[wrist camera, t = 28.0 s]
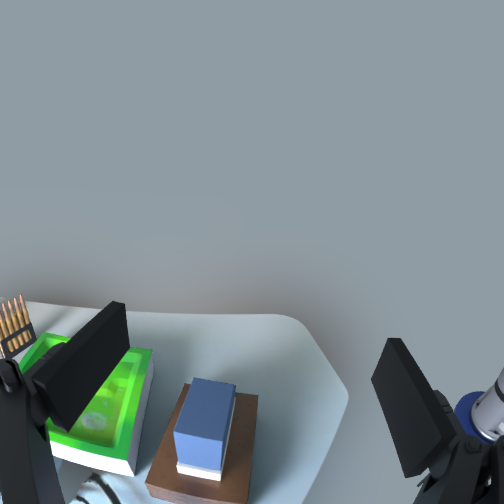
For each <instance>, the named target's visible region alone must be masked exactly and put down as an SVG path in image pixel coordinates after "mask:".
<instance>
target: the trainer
mask: <svg viewBox="0 0 504 504" xmlns="http://www.w3.org/2000/svg"><path fill="white" fill-rule="evenodd" d="M235 390H236V385H234V384H228V383H222V382H216V381H210V380H205V379H199V378H193V381H192V384H191V386H190V389H189V391H188V394H187V397H186V399H185V402H184V405H183V407H182V410H181V412H180V415H179V418H178V420H177V423H176V426H175V428H174V431H173V433H174V439H175V446H176V452H177V457H178V462H177V470H178V472H179V473H183V474H187V475H192V476H196V477H201V478H206V479H212V480H218V481H221V476H222V471H223V465H224V460H225V455H226V450H227V444H228V439H229V434H230V428H231V423H232V417H233V412H234V406H235V398H236V397H235Z"/></svg>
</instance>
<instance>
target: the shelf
mask: <svg viewBox="0 0 504 504" xmlns="http://www.w3.org/2000/svg"><path fill="white" fill-rule="evenodd" d="M190 386H191V384H186V383H185V384H184V387H183V389H182V392H181V394H180V396H179V399H178V401H177V404H176V406H175V409H174V411H173V413H172V416H171V418H170V421H169V423H168V426H167V428H166V431H165V433H164V436H163V438H162V441H161V443H160V446H159V448H158V451H157V453H156V456H155V458H154V461H153V463H152V466H151V468H150V471H149V473H148V476H147V478H146V481H145V485H146V486H147V489H148V491H149V493H150V495H151V496H152V497H155V498H158V499H162V500H165V501H169V502H173V503H177V504H247V501H248V493H249V484H250V475H251V466H252V456H253V447H254V437H255V427H256V417H257V406H258V395H251V394H243V393H236V392H235V397H236V398H235V406H234V412H233V417H232V423H231V428H230V434H229V439H228V444H227V450H226V455H225V460H224V465H223V471H222V476H221V481H218V480H212V479H206V478H201V477H196V476H192V475H187V474H183V473H179V472H178V470H177V462H178V457H177V452H176V446H175V439H174V433H173V431H174V428H175V426H176V423H177V420H178V418H179V415H180V412H181V410H182V407H183V405H184V402H185V399H186V397H187V394H188V391H189V389H190Z"/></svg>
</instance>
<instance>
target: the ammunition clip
mask: <svg viewBox="0 0 504 504" xmlns="http://www.w3.org/2000/svg"><path fill="white" fill-rule="evenodd" d="M20 305H21V311H22V313H21V311H20V307H19V304H18V301H17V299H16V298H15V297H14V306H15V311H16V315H15V312H14V309H13V306H12V304H11V302H10V300H8V307H9V312H10V317H9V315H8V311H7V308H6V306H5V304H4V303H3V304H2V308H3V314H4V318H5V322H4V319H3V317H2V314H1V311H0V351H1V353H2V356H3V358H13V357H14V356H15V355H17V354H18V353H20V352H21V351H23V350H24V349H26V348H27V347H28V346H30V345H31V344H33V343H34V342H36V340H37V338H36V335H35V332H34V329H33V326H32V323H31V322H30V319H29V315H28V311H27V309H26V306H25V302H24V299H23V297H22V295H21V294H20ZM16 317H17V318H16ZM10 318H11V320H10Z"/></svg>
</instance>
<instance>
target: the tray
mask: <svg viewBox="0 0 504 504" xmlns="http://www.w3.org/2000/svg"><path fill="white" fill-rule="evenodd" d="M70 339H71V338H70V337H65V336H60V335H55V334H50V333H46V332H43V333H42V334H41V335H40V337H39V338H38V339H37V340H36V342H35V343H34V344H33V345H32V347H31V348H30V349H29V350H28V352H27V353H26V354H25V356H24V357H23V358H22V360H21V361H20V362H19V364H18V365H19V368H20V370H21V372H22V375H23V374H24V373H25V372H26V371H27V370H28V369H29V368H30V367H31V366H32V365H33V364H34V363H35V362H36V361H37V360H38V359H39V358H40V359H41V356H42V355H44V354H46V352H47V351H48V350H49V349H50V348H51V347H52V346H54V345H56V344H58V343H60V342H65V343H66V342H68V341H69V340H70ZM153 373H154V362H153V353H152V349H142V348H134V347H130V349H129V350H128V351H127V353H126V354H125V355H124V357H123V358H122V359H121V361H120V362H119V363H118V365H117V366H116V367H115V369H114V370H113V371H112V373H111V374H110V375H109V377H108V378H107V379H106V381H105V382H104V383H103V385H102V386H101V388H100V389H99V390H98V392H97V393H96V394H95V396H94V397H93V399H92V400H91V401H90V403H89V404H88V406H87V407H86V408H85V410H84V411H83V413H82V414H81V415H80V417H79V418H78V420H77V421H76V423H75V424H74V425H73V427H72V428H71V430H70V431H69V433H67V432H65V431H63V430H61V429H60V428H58V427H56V426H54V424H53V422H52V421H51V419H50V417H49V418H48V419H47V421H46V423H47V425H48V430H49V437H50V443H51V448H52V454H53V455H54V456H57V457H60V458H63V459H66V460H69V461H72V462H76V463H79V464H82V465H86V466H89V467H93V468H97V469H101V470H105V471H109V472H114V473H118V474H123V475H128V476H135V469H136V462H137V456H138V449H139V443H140V438H141V432H142V426H143V421H144V416H145V410H146V405H147V400H148V396H149V391H150V386H151V382H152V377H153Z"/></svg>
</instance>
